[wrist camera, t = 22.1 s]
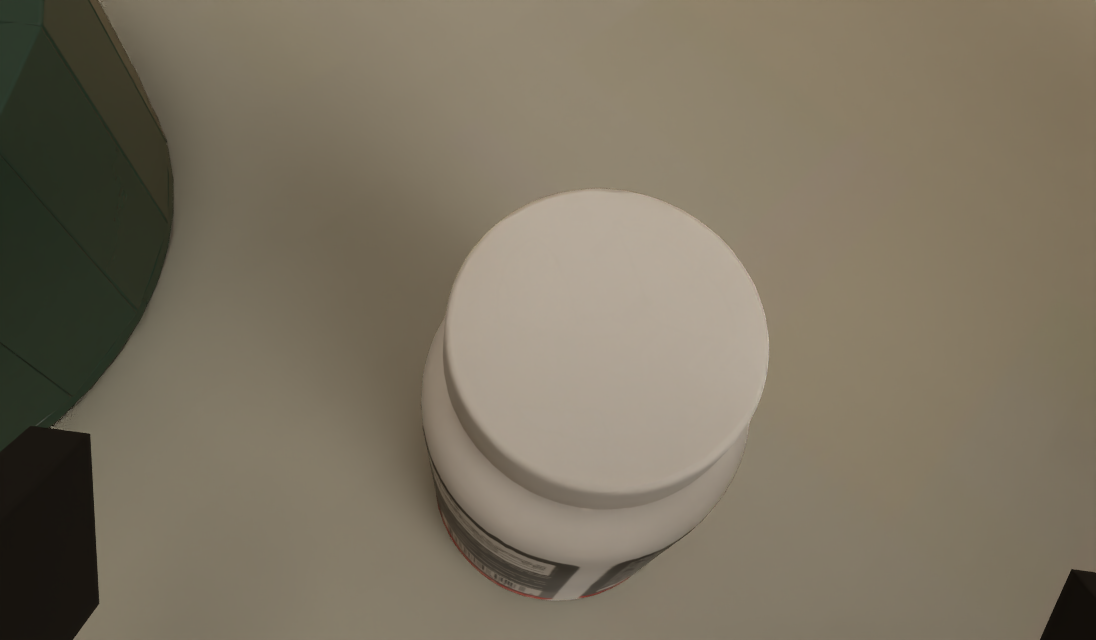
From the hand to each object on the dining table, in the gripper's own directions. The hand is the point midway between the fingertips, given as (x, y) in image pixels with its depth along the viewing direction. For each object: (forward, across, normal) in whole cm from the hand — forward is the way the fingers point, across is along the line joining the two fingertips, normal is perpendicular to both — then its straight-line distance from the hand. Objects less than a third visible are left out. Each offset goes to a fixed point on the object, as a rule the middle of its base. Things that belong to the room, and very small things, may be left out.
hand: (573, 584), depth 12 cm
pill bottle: (+9, 0, +4) cm, 10 cm away
